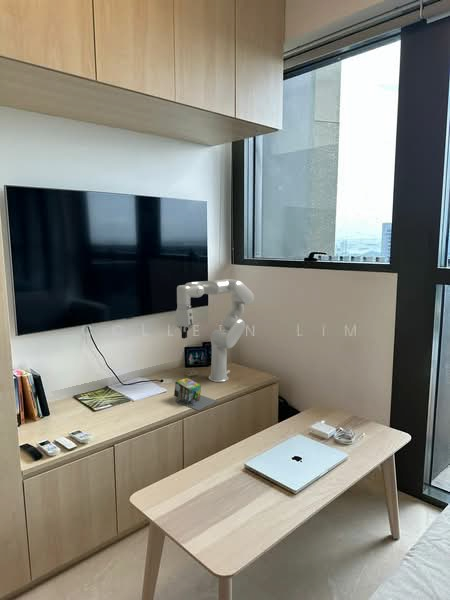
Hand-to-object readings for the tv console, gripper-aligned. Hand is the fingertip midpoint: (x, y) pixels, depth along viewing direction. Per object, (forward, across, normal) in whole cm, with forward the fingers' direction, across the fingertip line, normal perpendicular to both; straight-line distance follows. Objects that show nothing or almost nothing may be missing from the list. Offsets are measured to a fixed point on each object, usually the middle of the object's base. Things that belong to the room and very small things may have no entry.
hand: (184, 337), depth 232 cm
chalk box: (+23, -8, +13) cm, 28 cm away
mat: (+30, -19, +12) cm, 38 cm away
